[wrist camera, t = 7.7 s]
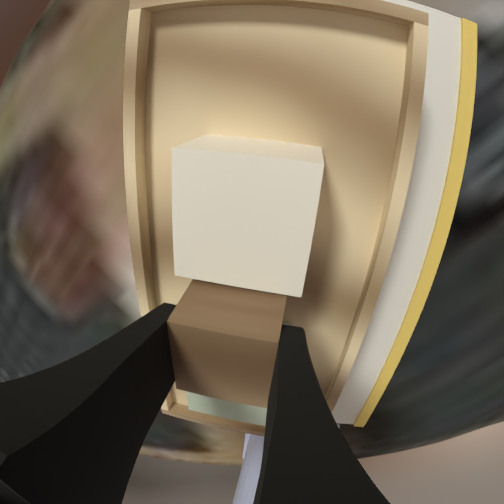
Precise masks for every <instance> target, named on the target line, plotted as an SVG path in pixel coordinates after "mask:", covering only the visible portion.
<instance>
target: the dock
mask: <svg viewBox="0 0 504 504" xmlns="http://www.w3.org/2000/svg"><path fill="white" fill-rule="evenodd" d="M382 1H386V2H391V3H395V4H398V5H402V6H406V7H409V8H413V9H416V10H420V11H423V12H426V13H429V21H428V48H427V63H426V76H425V86H424V95H423V104H422V112H421V119H420V126H419V132H418V139H417V145H416V150H415V156H414V161H413V167H412V172H411V177H410V182H409V186H408V191H407V195H406V200H405V204H404V208H403V213H402V217H401V221H400V225H399V228H398V232H397V236H396V240H395V243H394V247H393V251H392V254H391V258H390V261H389V264H388V268H387V271H386V274H385V278H384V281H383V284H382V287H381V290H380V293H379V296H378V299H377V302H376V305H375V308H374V311H373V314H372V317H371V319H370V322H369V325H368V328H367V330H366V333H365V336H364V338H363V341H362V344H361V346H360V349H359V351H358V354H357V356H356V359H355V361H354V364H353V366H352V369H351V371H350V373H349V376H348V378H347V380H346V383H345V385H344V387H343V390H342V392H341V394H340V396H339V399H338V401H337V403H336V405H335V407H334V409H333V412H332V415H333V417H334V419H335V421H336V423H342V424H354V427H364V426H365V424H366V422H367V421H368V419H369V417H370V416H371V414H372V412H373V410H374V409H375V407H376V405H377V403H378V402H379V400H380V398H381V396H382V394H383V392H384V391H385V389H386V387H387V385H388V383H389V381H390V379H391V377H392V375H393V373H394V371H395V369H396V367H397V365H398V363H399V361H400V359H401V357H402V355H403V353H404V351H405V348H406V346H407V344H408V342H409V340H410V337H411V335H412V333H413V331H414V328H415V326H416V324H417V321H418V319H419V316H420V314H421V312H422V309H423V307H424V304H425V301H426V299H427V296H428V294H429V291H430V288H431V286H432V283H433V280H434V277H435V274H436V271H437V269H438V266H439V263H440V260H441V256H442V253H443V250H444V247H445V244H446V240H447V237H448V234H449V230H450V227H451V223H452V219H453V215H454V212H455V208H456V204H457V200H458V195H459V191H460V187H461V182H462V177H463V172H464V167H465V162H466V157H467V151H468V145H469V139H470V132H471V125H472V117H473V108H474V98H475V86H476V68H477V24H476V23H474V22H472V21H469V20H467V19H465V18H458V17H455V16H453V15H450V14H447V13H445V12H442V11H439V10H436V9H433V8H430V7H427V6H424V5H421V4H417V3H414V2H411V1H407V0H382Z"/></svg>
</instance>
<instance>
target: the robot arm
mask: <svg viewBox="0 0 504 504" xmlns="http://www.w3.org/2000/svg"><path fill="white" fill-rule="evenodd" d="M175 307H176V305H174V304H170V303H165V302H164V303H162V304H161V305H159V306H158V307H156V308H155V309H153V310H152V311H150V312H149V313H147V314H146V315H144V316H143V317H141V318H140V319H138V320H137V321H135V322H133V323H132V324H130V325H129V326H127V327H126V328H124V329H123V330H121V331H120V332H118V333H116V334H115V335H113V336H111V337H110V338H108V339H106V340H105V341H103V342H101V343H99V344H98V345H96V346H94V347H92V348H91V349H89V350H87V351H85V352H83V353H81V354H79V355H77V356H75V357H73V358H71V359H69V360H67V361H65V362H62V363H60V364H58V365H55V366H53V367H50V368H48V369H45V370H42V371H39V372H36V373H34V374H31V375H28V376H25V377H21V378H18V379H14V380H10V381H6V382H2V383H0V504H121V503H122V500H123V497H124V494H125V491H126V487H127V484H128V481H129V478H130V476H131V473H132V470H133V467H134V464H135V461H136V459H137V456H138V454H139V451H140V449H141V446H142V443H143V441H144V439H145V437H146V435H147V433H148V431H149V429H150V427H151V425H152V423H153V421H154V419H155V418H156V416H157V414H158V412H159V410H160V408H161V407H162V405H163V403H164V401H165V399H166V397H167V395H168V393H169V392H170V390H171V388H172V386H173V384H174V382H175V376H174V369H173V363H172V357H171V350H170V343H169V336H168V328H167V320H168V319H169V317H170V315H171V313H172V312H173V310H174V308H175ZM242 458H243V459H244V461H243V465H242V469H241V473H240V477H239V481H238V485H237V488H236V492H235V496H234V500H233V503H232V504H390V503H389V502H388V501H387V499H386V498H385V497H384V496H383V494H382V493H381V492H380V491H379V489H378V488H377V487H376V485H375V484H374V483H373V482H372V480H371V479H370V477H369V476H368V474H367V473H366V471H365V470H364V468H363V467H362V466H361V464H360V463H359V461H358V460H357V458H356V457H355V455H354V454H353V452H352V450H351V449H350V447H349V445H348V444H347V442H346V440H345V438H344V437H343V435H342V433H341V431H340V424H339V423H336V421H335V419H334V417H333V415H332V413H331V411H330V409H329V406H328V404H327V402H326V399H325V397H324V395H323V392H322V390H321V387H320V385H319V382H318V379H317V376H316V373H315V370H314V367H313V364H312V361H311V357H310V354H309V350H308V346H307V341H306V335H305V330H304V329H303V328H302V327H297V326H290V325H284V324H282V327H281V333H280V338H279V343H278V349H277V354H276V360H275V365H274V371H273V376H272V381H271V386H270V392H269V397H268V404H267V414H266V425H265V435H264V436H258V435H252V434H247V433H246V434H245V442H244V449H243V457H242Z"/></svg>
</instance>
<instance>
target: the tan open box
mask: <svg viewBox="0 0 504 504" xmlns="http://www.w3.org/2000/svg"><path fill="white" fill-rule="evenodd" d="M428 21H429V13H426V12H423V11H420V10H416V9H413V8H409V7H406V6H402V5H398V4H395V3H391V2H386V1H382V0H130V6H129V15H128V25H127V36H126V50H125V67H124V95H123V139H124V168H125V186H126V201H127V213H128V224H129V234H130V243H131V252H132V260H133V268H134V275H135V282H136V289H137V295H138V301H139V307H140V313H141V317H143V316H144V315H146V314H147V313H149V312H150V311H152V310H153V309H155V308H156V307H158V306H159V305H161V304H162V303H164V302H165V303H170V304H174V305H176V307H175V308H174V310H173V312H172V313H171V315H170V317H169V319H168V320H167V328H168V336H169V343H170V350H171V357H172V363H173V369H174V376H175V382H174V384H173V386H172V388H171V390H170V392H169V393H168V395H167V397H166V399H165V401H164V403H163V405H162V407H161V409H162V413H164V414H168V415H171V416H175V417H178V418H182V419H185V420H189V421H193V422H197V423H201V424H205V425H209V426H213V427H218V428H222V429H227V430H232V431H236V432H241V433H247V434H252V435H258V436H264V435H265V426H263V425H257V424H251V423H246V422H241V421H236V420H231V419H226V418H222V417H217V416H213V415H209V414H205V413H200V412H196V411H193V410H189V409H188V402H187V395H186V391H187V392H191V393H195V394H199V395H203V396H208V397H212V398H216V399H221V400H226V401H230V402H235V403H240V404H246V405H251V406H257V407H262V408H267V404H268V397H269V392H270V386H271V381H272V376H273V371H274V365H275V360H276V354H277V349H278V343H279V338H280V333H281V327H282V323H283V322H286V323H293V324H292V326H297V327H302V328H303V329H304V330H305V335H306V341H307V346H308V350H309V354H310V357H311V361H312V364H313V367H314V370H315V373H316V376H317V379H318V382H319V385H320V387H321V390H322V392H323V395H324V397H325V399H326V402H327V404H328V406H329V409H330V411H331V413H332V412H333V409H334V407H335V405H336V403H337V401H338V399H339V396H340V394H341V392H342V390H343V387H344V385H345V383H346V380H347V378H348V376H349V373H350V371H351V369H352V366H353V364H354V361H355V359H356V356H357V354H358V351H359V349H360V346H361V344H362V341H363V338H364V336H365V333H366V330H367V328H368V325H369V322H370V319H371V317H372V314H373V311H374V308H375V305H376V302H377V299H378V296H379V293H380V290H381V287H382V284H383V281H384V278H385V274H386V271H387V268H388V264H389V261H390V258H391V254H392V251H393V247H394V243H395V240H396V236H397V232H398V228H399V225H400V221H401V217H402V213H403V208H404V204H405V200H406V195H407V191H408V186H409V182H410V177H411V172H412V167H413V161H414V156H415V150H416V145H417V139H418V132H419V126H420V119H421V112H422V104H423V95H424V86H425V76H426V63H427V48H428ZM204 135H221V136H234V137H245V138H255V139H265V140H274V141H282V142H290V143H297V144H304V145H311V146H318V147H322V153H323V159H324V170H323V177H322V183H321V190H320V196H319V203H318V209H317V215H316V221H315V227H314V233H313V238H312V244H311V250H310V255H309V260H308V266H307V271H306V276H305V282H304V287H303V292H302V297H295V296H289V295H283V294H277V293H271V292H265V291H259V290H253V289H247V288H241V287H235V286H230V285H224V284H218V283H213V282H207V281H202V280H196V279H191V278H186V277H180V276H175V274H174V254H173V229H172V148H174V147H176V146H178V145H181V144H183V143H186V142H188V141H191V140H194V139H196V138H199V137H201V136H204Z"/></svg>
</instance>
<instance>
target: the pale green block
mask: <svg viewBox="0 0 504 504" xmlns="http://www.w3.org/2000/svg"><path fill="white" fill-rule="evenodd" d="M282 324H284V325H290V326H292V324H293V323H286V322H283V323H282ZM186 395H187V402H188V409H189V410H193V411H196V412H200V413H205V414H209V415H213V416H217V417H222V418H226V419H231V420H236V421H241V422H246V423H251V424H257V425H263V426H265V425H266V414H267V408H262V407H257V406H251V405H246V404H240V403H235V402H230V401H226V400H221V399H216V398H212V397H208V396H203V395H199V394H195V393H191V392H187V391H186Z"/></svg>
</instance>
